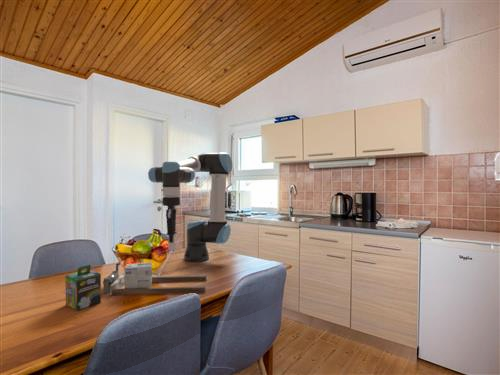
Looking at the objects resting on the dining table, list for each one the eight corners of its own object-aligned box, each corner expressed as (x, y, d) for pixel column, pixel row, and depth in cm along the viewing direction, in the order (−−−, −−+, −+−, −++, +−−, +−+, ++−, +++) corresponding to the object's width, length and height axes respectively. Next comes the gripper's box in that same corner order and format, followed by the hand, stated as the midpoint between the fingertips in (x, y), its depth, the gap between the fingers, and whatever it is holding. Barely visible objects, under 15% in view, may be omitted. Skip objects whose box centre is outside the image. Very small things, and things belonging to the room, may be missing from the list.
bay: (123, 281, 134) (123, 273, 134) (206, 279, 138) (206, 271, 138) (110, 295, 118) (110, 285, 118) (205, 292, 123) (205, 282, 122)
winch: (115, 280, 136) (115, 262, 136) (123, 280, 136) (123, 262, 136) (101, 293, 120) (101, 272, 120) (110, 292, 120) (110, 272, 120)
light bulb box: (151, 285, 130) (152, 261, 130) (151, 291, 123) (151, 266, 123) (126, 287, 127) (126, 263, 127) (124, 293, 120) (124, 267, 120)
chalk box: (89, 297, 116) (89, 260, 116) (101, 302, 111) (101, 264, 110) (64, 305, 108) (64, 266, 108) (76, 311, 103) (76, 270, 103)
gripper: (165, 195, 134) (165, 245, 135) (159, 197, 121) (160, 253, 122) (181, 195, 135) (181, 245, 136) (177, 197, 122) (178, 252, 123)
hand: (171, 248), depth 129 cm, fingers closed
